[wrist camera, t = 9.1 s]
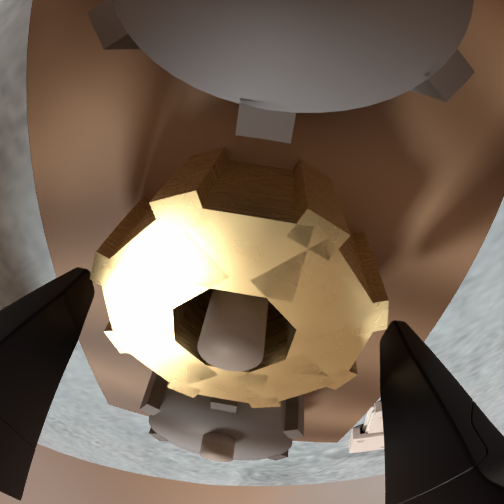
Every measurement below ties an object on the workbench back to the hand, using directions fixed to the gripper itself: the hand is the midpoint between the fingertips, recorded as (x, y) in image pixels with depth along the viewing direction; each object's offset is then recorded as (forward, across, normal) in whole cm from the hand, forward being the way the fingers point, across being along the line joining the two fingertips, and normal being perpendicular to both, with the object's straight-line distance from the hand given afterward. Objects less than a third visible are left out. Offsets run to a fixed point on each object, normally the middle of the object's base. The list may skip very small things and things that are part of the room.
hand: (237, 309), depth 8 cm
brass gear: (+2, 0, 0) cm, 2 cm away
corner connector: (+5, -14, +14) cm, 21 cm away
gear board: (+4, 0, 0) cm, 4 cm away
